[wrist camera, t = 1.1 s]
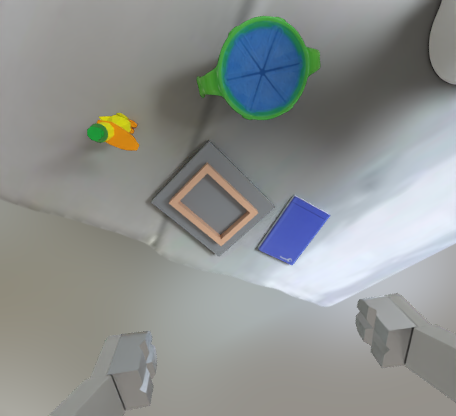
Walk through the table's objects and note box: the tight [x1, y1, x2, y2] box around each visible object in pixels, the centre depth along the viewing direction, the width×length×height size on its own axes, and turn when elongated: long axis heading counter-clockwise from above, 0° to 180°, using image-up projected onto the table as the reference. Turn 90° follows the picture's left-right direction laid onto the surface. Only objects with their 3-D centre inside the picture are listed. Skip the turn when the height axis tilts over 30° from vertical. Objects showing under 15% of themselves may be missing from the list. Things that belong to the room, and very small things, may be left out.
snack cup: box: [197, 16, 320, 120], centre depth 34 cm, size 16×10×10 cm
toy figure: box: [87, 113, 139, 150], centre depth 35 cm, size 7×4×12 cm, turn 59°
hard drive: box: [258, 195, 330, 265], centre depth 50 cm, size 2×8×12 cm
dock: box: [151, 141, 275, 256], centre depth 45 cm, size 14×16×3 cm
